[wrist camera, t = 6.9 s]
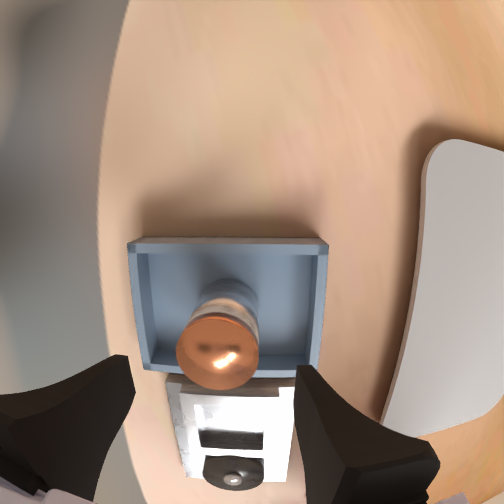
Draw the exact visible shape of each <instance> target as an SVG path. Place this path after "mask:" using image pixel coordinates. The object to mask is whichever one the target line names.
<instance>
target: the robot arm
mask: <svg viewBox="0 0 504 504" xmlns="http://www.w3.org/2000/svg"><path fill="white" fill-rule="evenodd" d="M135 393H136V391H135V387H134V383H133V378H132V374H131V369H130V365H129V360H128V356H124V355H117V354H115V355H113V356H111V357H109V358H107V359H105V360H103V361H101V362H99V363H97V364H95V365H93V366H91V367H90V368H88V369H86V370H84V371H82V372H80V373H78V374H76V375H74V376H72V377H70V378H67V379H65V380H63V381H60V382H58V383H55V384H52V385H50V386H47V387H44V388H40V389H36V390H31V391H27V392H22V393H14V394H4V395H0V504H97V503H94V502H93V499H94V495H95V490H96V486H97V482H98V479H99V476H100V472H101V469H102V466H103V463H104V460H105V457H106V455H107V452H108V450H109V448H110V446H111V444H112V442H113V440H114V438H115V436H116V434H117V432H118V431H119V429H120V427H121V425H122V423H123V422H124V420H125V418H126V416H127V414H128V412H129V410H130V408H131V405H132V402H133V399H134V396H135ZM293 408H294V421H295V427H296V431H297V436H298V441H299V445H300V450H301V455H302V459H303V465H304V471H305V483H306V498H307V504H427V503H426V501H427V500H428V499H429V496H428V494H427V492H426V489H427V488H428V486H429V485H430V483H431V482H432V481H433V479H434V478H435V476H436V474H437V473H438V471H439V468H440V461H439V459H438V457H437V455H436V453H435V451H434V449H433V448H432V447H431V445H430V444H429V442H428V441H425V440H421V439H417V438H414V437H410V436H407V435H404V434H401V433H399V432H396V431H394V430H391V429H389V428H387V427H385V426H383V425H381V424H379V423H377V422H375V421H373V420H371V419H370V418H368V417H367V416H365V415H364V414H362V413H361V412H359V411H358V410H356V409H355V408H354V407H352V406H351V405H350V404H348V403H347V402H346V401H345V400H344V399H343V398H342V397H341V396H340V395H339V394H337V393H336V391H335V390H334V389H333V388H332V387H331V386H330V385H329V384H328V383H327V382H326V381H325V380H324V379H323V377H322V376H321V375H320V374H319V373H318V372H317V370H316V369H315V368H314V367H313V366H312V365H297V368H296V379H295V389H294V399H293ZM435 504H470V503H469V501H468V499H467V497H466V496H465V494H464V492H461V493H459V494H456V495H454V496H452V497H449V498H447V499H444V500H442V501H439V502H437V503H435Z"/></svg>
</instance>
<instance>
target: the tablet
mask: <svg viewBox="0 0 504 504" xmlns="http://www.w3.org/2000/svg"><path fill="white" fill-rule="evenodd" d="M503 394H504V152H503V151H500V150H497V149H493V148H490V147H487V146H483V145H480V144H476V143H472V142H468V141H464V140H460V139H450V140H445V141H442V142H440V143H438V144H437V145H435V146H434V147H433V148H432V149H431V151H430V152H429V153H428V155H427V157H426V159H425V162H424V165H423V169H422V174H421V191H420V215H419V230H418V242H417V252H416V261H415V269H414V277H413V284H412V290H411V297H410V303H409V308H408V314H407V319H406V324H405V329H404V334H403V338H402V343H401V347H400V352H399V356H398V360H397V364H396V368H395V371H394V375H393V379H392V382H391V386H390V389H389V393H388V396H387V399H386V403H385V406H384V409H383V413H382V416H381V420H380V424H381V425H383V426H385V427H387V428H389V429H391V430H394V431H396V432H399V433H401V434H404V435H407V436H410V437H418V436H422V435H426V434H430V433H433V432H437V431H440V430H444V429H447V428H450V427H453V426H456V425H459V424H462V423H465V422H468V421H471V420H473V419H476V418H479V417H481V416H483V415H484V414H486V413H487V412H488V411H490V410H491V409H492V408H493V407H494V406H495V405H496V404H497V403H498V401H499V400H500V399H501V397H502V396H503Z"/></svg>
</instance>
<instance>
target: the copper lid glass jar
mask: <svg viewBox="0 0 504 504" xmlns="http://www.w3.org/2000/svg"><path fill="white" fill-rule="evenodd" d="M176 358H177V362H178V364H179V366H180V368H181V370H182V371H183V373H184V374H185V375H186V376H187V377H188V378H189V379H191V380H192V381H193V382H195V383H197V384H198V385H201V386H203V387H206V388H209V389H214V390H228V389H233V388H236V387H239V386H241V385H243V384H244V383H246V382H247V381H248V380H249V379H250V378H251V377H252V376H253V375H254V373H255V371H256V369H257V366H258V360H259V303H258V299H257V296H256V294H255V293H254V291H253V290H252V289H251V288H250V287H249V286H248V285H247V284H245V283H243V282H241V281H239V280H235V279H221V280H217V281H215V282H213V283H211V284H210V285H209V286H208V287H207V288H206V289H205V290H204V292H203V293H202V295H201V297H200V299H199V301H198V303H197V305H196V307H195V309H194V311H193V313H192V314H191V316H190V318H189V320H188V322H187V324H186V326H185V328H184V330H183V332H182V334H181V336H180V338H179V340H178V342H177V346H176Z"/></svg>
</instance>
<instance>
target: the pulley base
mask: <svg viewBox="0 0 504 504" xmlns="http://www.w3.org/2000/svg"><path fill="white" fill-rule="evenodd" d="M295 379H296V378H250V379H249V380H248V381H247V382H246V383H244V384H243V385H241V386H239V387H236V388H233V389H228V390H214V389H209V388H206V387H203V386H201V385H198V384H197V383H195V382H193V381H192V380H191V379H189V378H188V377H187V376H186V375H180V374H170V373H169V375H168V377H167V379H166V381H165V384H166V389H167V395H168V400H169V405H170V410H171V415H172V420H173V425H174V429H175V434H176V438H177V442H178V446H179V451H180V455H181V459H182V463H183V466H184V470H185V474H186V477H193V478H202V479H205V480H206V481H207V482H209V483H210V484H212V485H214V486H216V487H218V488H221V489H226V490H233V491H241V490H248V489H252V488H255V487H257V486H258V485H260V484H261V483H262V482H280V481H285V480H286V474H287V467H288V461H289V454H290V447H291V439H292V432H293V424H294V408H293V399H294V389H295Z"/></svg>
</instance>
